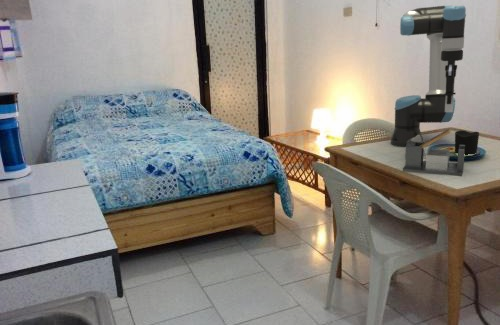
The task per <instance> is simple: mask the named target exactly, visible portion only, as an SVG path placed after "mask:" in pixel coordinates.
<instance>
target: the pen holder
mask: <svg viewBox="0 0 500 325" xmlns="http://www.w3.org/2000/svg"><path fill="white" fill-rule="evenodd" d="M479 137H480V132H479V131H472V132H470V131H467V130H463V129H462V130H456V131H455V132H454V154H455V153H458V150H459V145H465V153H464V154H465V155H468V154H475V153H477V152H478V146H479V145H478V144H479Z"/></svg>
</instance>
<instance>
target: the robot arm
mask: <svg viewBox="0 0 500 325" xmlns="http://www.w3.org/2000/svg"><path fill="white" fill-rule="evenodd" d="M466 10H467V9H466V6H465V5H455V6H453V5H439V6H438V5H437V6H429V7H419V8H414V9H411V10H408V11H407V12H405V13H404V14H403V15H402V16H401V17H400V22H399V23H400V26H399V27H400V28H399V31H400V32H399V33H400V35H401V36H408V37H409V36H416V35H417V36H418V35H426V38H427V39H428V40H429V67H428V68H429V70H428V71H429V72H428V73H429V75H428V92H426V93H425V96H424V98H422V97H421V95H420V94H419V95H418V94H417V95H415V94H414V95H406V96H402V97H399V98H397V99H396V100H395V104H394V128H393V131H392V132H393V133H392V135H391V137H390V144H391V145H392V146H395V147H399V148H406V145H407V143H406V142H407V141H408V140H409V139H411V138H414V137H416V136H417V135H420V136H421V139H422V142H424V138H423V135H422V132H421V126H420V125H421V123H424V124H425V123H427V124H429V123H430V124H431V123H435V124H436V123H439V124H442V123H449V122H451V121H452V119H453V116H454V113H455V108H456V98H455V97H454V95H456V92H455V79H456V76H457V70H458V65H457V64H456V61H457V62H459V61H463V59H464V50H463V49H464V47H465V26H466V16H467V14H466Z"/></svg>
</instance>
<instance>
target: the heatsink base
mask: <svg viewBox="0 0 500 325" xmlns="http://www.w3.org/2000/svg"><path fill="white" fill-rule="evenodd" d="M423 143H425V142H424V141H423V142H410V141H409V142H408V144H407V145H406V147H405V155H404V156H405V159H404V161H405V163H404V167H403V168H402V172H405V173H418V174H419V173H421V174H432V175H442V176H443V175H444V176H445V175H446V176H459V177H463V173H464V167H465V157H464V153H465V145H459V150H458V156H457V162H450V154H451V151H450V149H437V148H428V150H427V152H426V156H425V157H426V158H425V160H424V155H423V151H425V147H424V148H422V146H420V145H421V144H423Z"/></svg>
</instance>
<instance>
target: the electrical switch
mask: <svg viewBox="0 0 500 325" xmlns="http://www.w3.org/2000/svg"><path fill="white" fill-rule="evenodd" d="M409 141H410V142H422V139H421V136H420V135H417V136H416V137H414V138H411V139H409V140H408V141H407V142H406V143H407V144H408V142H409ZM425 151H426V150H424V151H423V156H424V155H425V154H426V152H425Z"/></svg>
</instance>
